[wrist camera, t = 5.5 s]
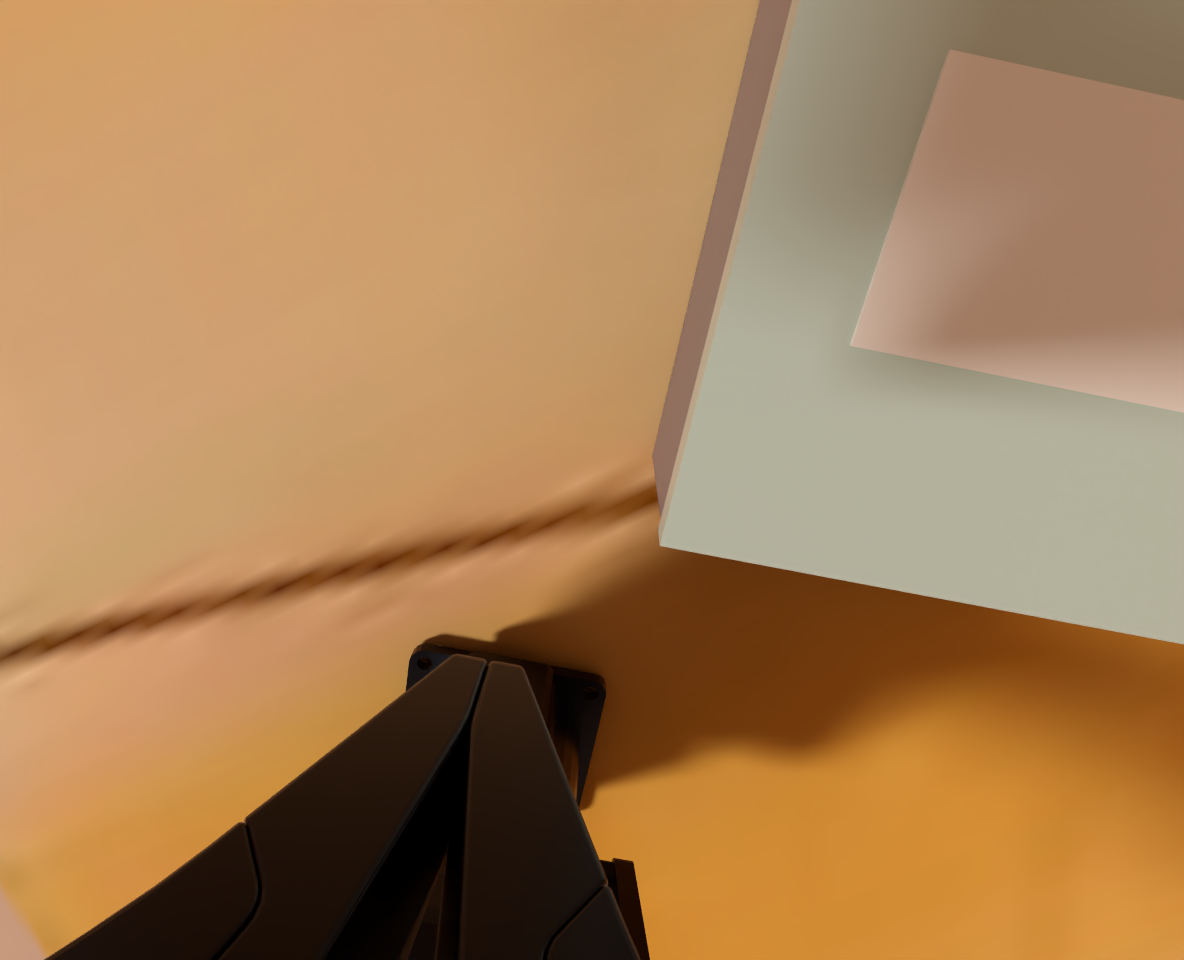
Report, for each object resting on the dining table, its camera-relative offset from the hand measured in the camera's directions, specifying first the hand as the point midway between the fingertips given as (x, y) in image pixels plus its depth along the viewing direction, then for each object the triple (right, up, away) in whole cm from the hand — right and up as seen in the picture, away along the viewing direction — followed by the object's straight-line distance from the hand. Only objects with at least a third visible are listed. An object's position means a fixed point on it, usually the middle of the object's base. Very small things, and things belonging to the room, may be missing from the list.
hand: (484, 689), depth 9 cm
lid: (+10, +6, +6) cm, 13 cm away
